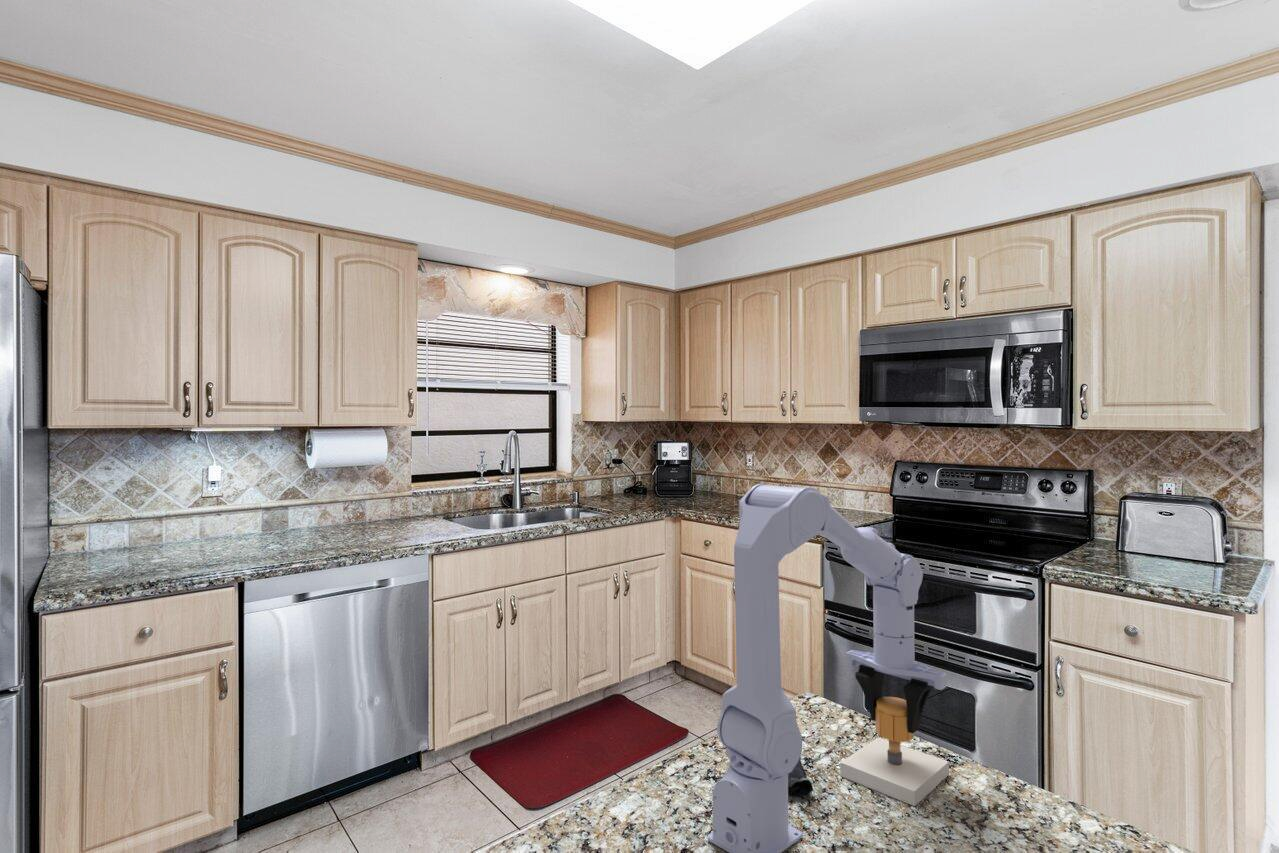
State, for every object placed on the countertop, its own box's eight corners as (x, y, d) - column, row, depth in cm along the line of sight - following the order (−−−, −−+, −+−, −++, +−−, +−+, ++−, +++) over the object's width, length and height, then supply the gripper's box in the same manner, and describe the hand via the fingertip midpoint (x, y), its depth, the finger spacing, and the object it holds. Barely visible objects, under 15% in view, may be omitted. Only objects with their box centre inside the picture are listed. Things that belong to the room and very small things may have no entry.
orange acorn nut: (903, 744, 92) (903, 713, 93) (870, 733, 96) (870, 702, 96) (918, 734, 96) (918, 703, 96) (886, 723, 99) (885, 694, 100)
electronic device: (819, 811, 90) (794, 745, 104) (815, 774, 89) (790, 713, 104) (753, 819, 90) (737, 752, 105) (748, 782, 89) (733, 720, 104)
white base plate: (914, 806, 88) (914, 769, 88) (840, 776, 96) (840, 741, 96) (949, 775, 96) (948, 741, 96) (878, 749, 104) (878, 718, 104)
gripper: (954, 637, 94) (955, 732, 93) (861, 618, 104) (861, 702, 104) (934, 648, 89) (936, 747, 89) (838, 626, 99) (839, 715, 99)
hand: (894, 724), depth 96 cm, fingers closed on orange acorn nut, 5 cm apart
